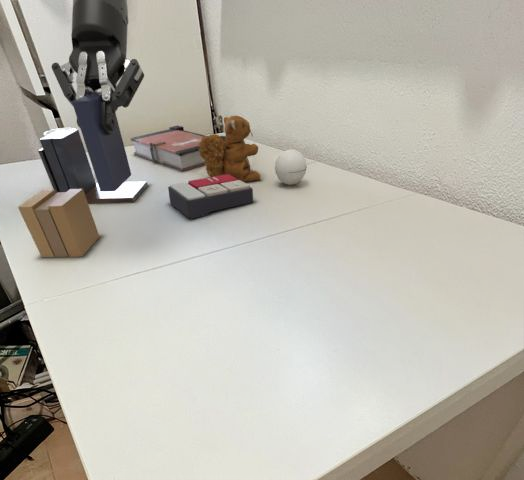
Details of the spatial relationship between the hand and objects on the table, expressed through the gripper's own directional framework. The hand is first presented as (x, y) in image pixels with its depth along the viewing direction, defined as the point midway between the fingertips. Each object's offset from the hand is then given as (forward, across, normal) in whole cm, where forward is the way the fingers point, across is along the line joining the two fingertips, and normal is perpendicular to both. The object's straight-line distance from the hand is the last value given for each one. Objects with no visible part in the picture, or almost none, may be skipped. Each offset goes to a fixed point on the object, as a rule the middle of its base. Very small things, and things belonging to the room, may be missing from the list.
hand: (95, 131), depth 56 cm
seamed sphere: (-10, +29, +36) cm, 48 cm away
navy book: (+4, 0, +7) cm, 8 cm away
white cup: (-20, -32, +47) cm, 60 cm away
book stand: (-7, -17, +34) cm, 38 cm away
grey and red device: (-2, +11, +28) cm, 31 cm away
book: (-28, -5, +55) cm, 62 cm away
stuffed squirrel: (-13, +13, +40) cm, 44 cm away
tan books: (+12, -12, +14) cm, 22 cm away
